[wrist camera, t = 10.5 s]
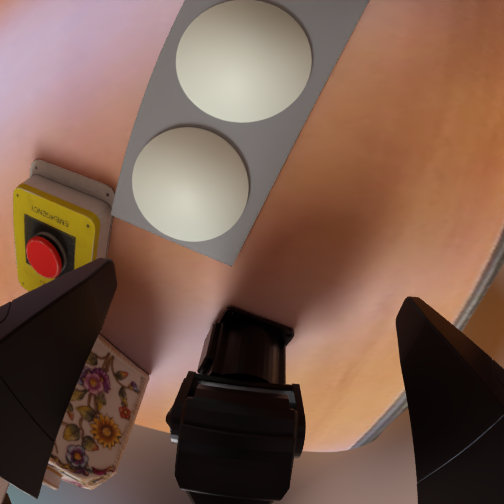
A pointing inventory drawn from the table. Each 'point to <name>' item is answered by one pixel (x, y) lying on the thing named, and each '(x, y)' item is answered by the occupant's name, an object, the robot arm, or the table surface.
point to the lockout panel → (226, 115)
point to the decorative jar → (97, 419)
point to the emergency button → (59, 223)
